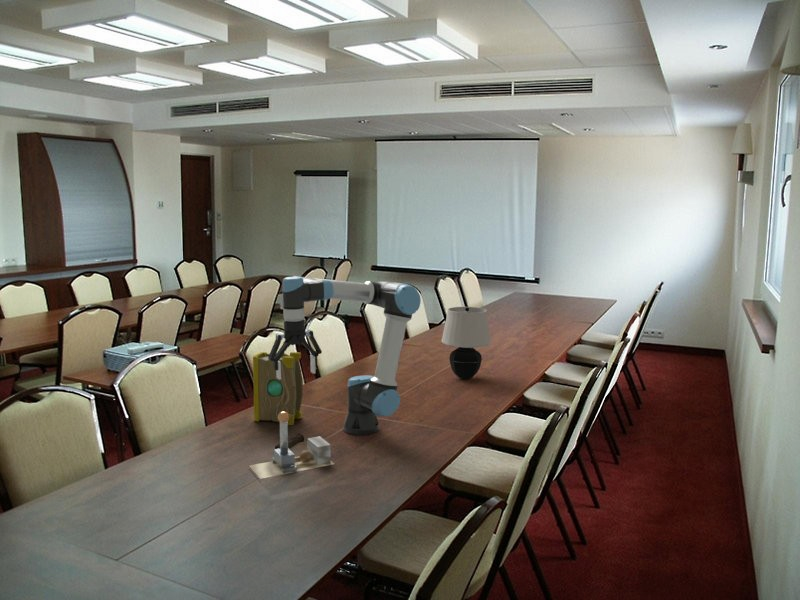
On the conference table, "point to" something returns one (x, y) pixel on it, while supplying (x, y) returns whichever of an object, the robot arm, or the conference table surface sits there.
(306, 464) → the knob lever base plate
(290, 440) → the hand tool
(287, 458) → the ball-top joystick
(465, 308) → the table lamp
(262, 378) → the decorative book
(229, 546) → the conference table surface
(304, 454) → the brown ball
